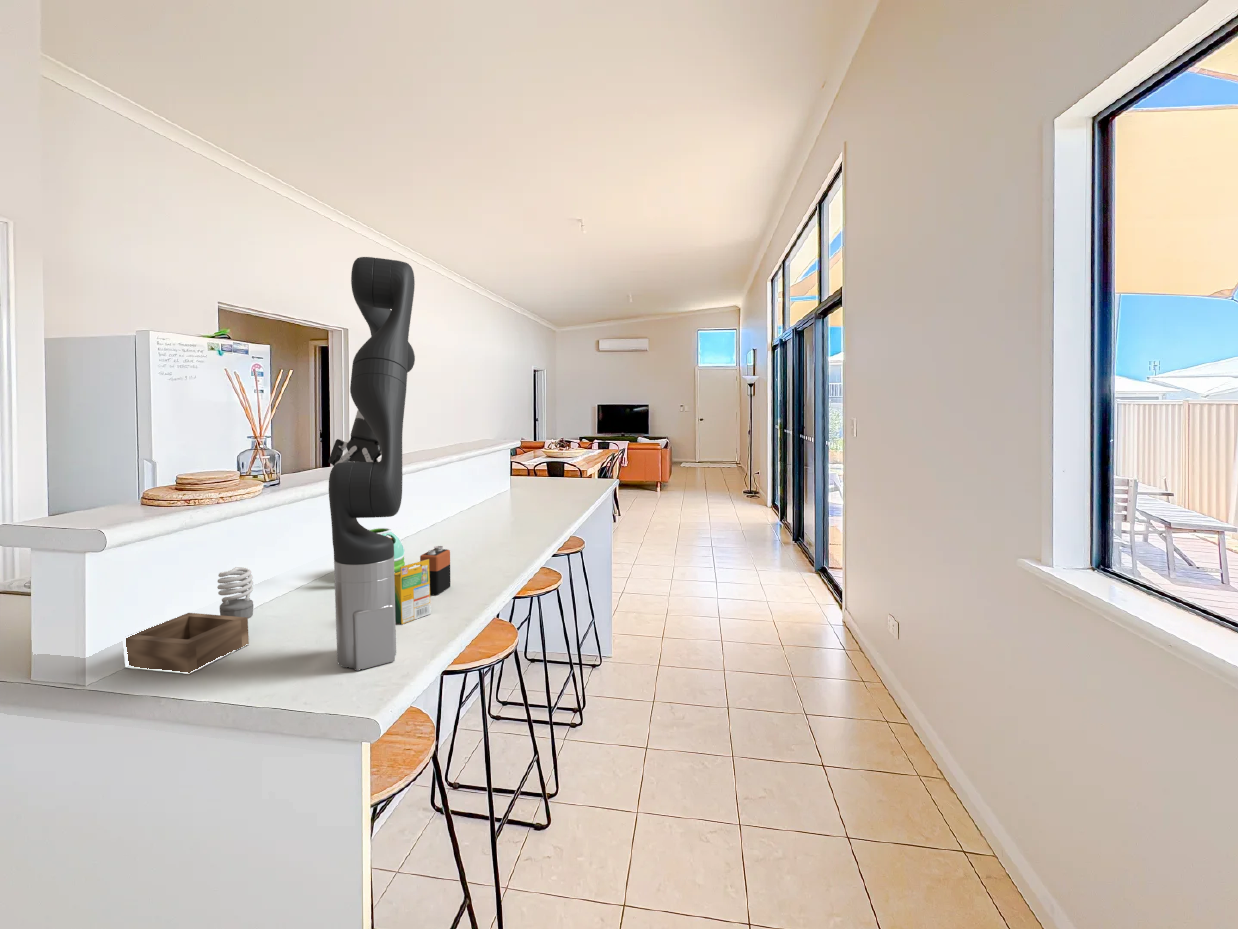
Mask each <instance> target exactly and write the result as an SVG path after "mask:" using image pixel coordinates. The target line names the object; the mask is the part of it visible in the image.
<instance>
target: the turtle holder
mask: <svg viewBox="0 0 1238 929" xmlns="http://www.w3.org/2000/svg"><path fill="white" fill-rule="evenodd" d="M368 530H370V531H372V532H374V533H377V534H381V535H384V536H387V537H389V538H390V539H391V540H392V541H393V543H394V573H398V572H400V567H401V566H405V565H406V562H405V555H406V552H405V547H404V544H403V542H402V540H401V539H400V536H398V535H397V534H396V533H395V532H394V531H393V530H392V528H389V527H388V528H387V527H376V528H370V529H369V528H368Z"/></svg>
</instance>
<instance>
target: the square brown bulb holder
mask: <svg viewBox="0 0 1238 929" xmlns="http://www.w3.org/2000/svg"><path fill="white" fill-rule="evenodd" d="M161 623H162V624H161ZM161 623H158V624H159V625H158V624H156V626H155V625H153V626H154V627H153V626H150V627H151V628H150V627H147V628H148V629H147V628H145V629H146V630H145V629H143V630H144V631H142V630H140V631H141V632H140V631H138V632H139V633H137V632H136V633H137V634H135V635H132V634H131V635H132V636H130V637H128V638H126V647H127V652H128V653H127V654H128V661H129V665H131V666H134V667H140V668H147V669H148V668H149V669H162V670H172V671H180V672H188V673H190V672H191V671H193V670H195V669H198V668H199V667H201V666H203V665H205V664H206V663H208V662H211V661H213V660H215V659H216V658H218V657H220V656H224V655H226V654H227V653H229V652H232V651H233V650H237V649H239V648H241V647H243V646H245V645H246V644H249V645H250V642H249V640H250V639H249V638H250V636H249V619H248V618H247V617H235V616H223V615H219V614H210V613H209V614H208V613H198V612H197V613H195V612H187V613H184V614H182V615H179V616H177V618H176V617H175V618H171V619H169V621H168V620H166V621H164V623H163V622H161Z"/></svg>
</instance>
